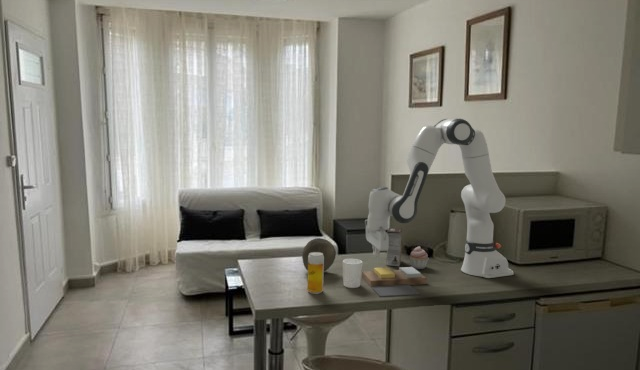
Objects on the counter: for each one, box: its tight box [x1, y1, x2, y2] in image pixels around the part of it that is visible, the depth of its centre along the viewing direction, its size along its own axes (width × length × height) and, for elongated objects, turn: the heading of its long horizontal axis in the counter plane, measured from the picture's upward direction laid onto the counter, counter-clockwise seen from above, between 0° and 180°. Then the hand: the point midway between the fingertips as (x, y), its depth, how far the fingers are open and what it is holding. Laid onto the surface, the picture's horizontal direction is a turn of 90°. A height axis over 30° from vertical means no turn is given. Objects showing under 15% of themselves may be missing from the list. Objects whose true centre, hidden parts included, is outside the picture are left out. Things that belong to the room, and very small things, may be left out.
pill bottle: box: [307, 252, 325, 295], centre depth 183 cm, size 6×6×15 cm
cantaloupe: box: [301, 237, 337, 272], centre depth 206 cm, size 14×14×15 cm
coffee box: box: [385, 227, 403, 267], centre depth 223 cm, size 9×6×16 cm
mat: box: [370, 284, 421, 298], centre depth 186 cm, size 16×11×1 cm
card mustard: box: [373, 266, 395, 278], centre depth 198 cm, size 6×9×2 cm, turn 12°
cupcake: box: [408, 245, 430, 270], centre depth 217 cm, size 9×9×10 cm
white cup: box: [342, 258, 363, 289], centre depth 191 cm, size 8×8×10 cm
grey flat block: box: [398, 266, 422, 278], centre depth 200 cm, size 6×9×2 cm, turn 12°
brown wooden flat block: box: [361, 269, 428, 288], centre depth 199 cm, size 24×12×2 cm, turn 102°
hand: (376, 255), depth 207 cm, fingers closed
